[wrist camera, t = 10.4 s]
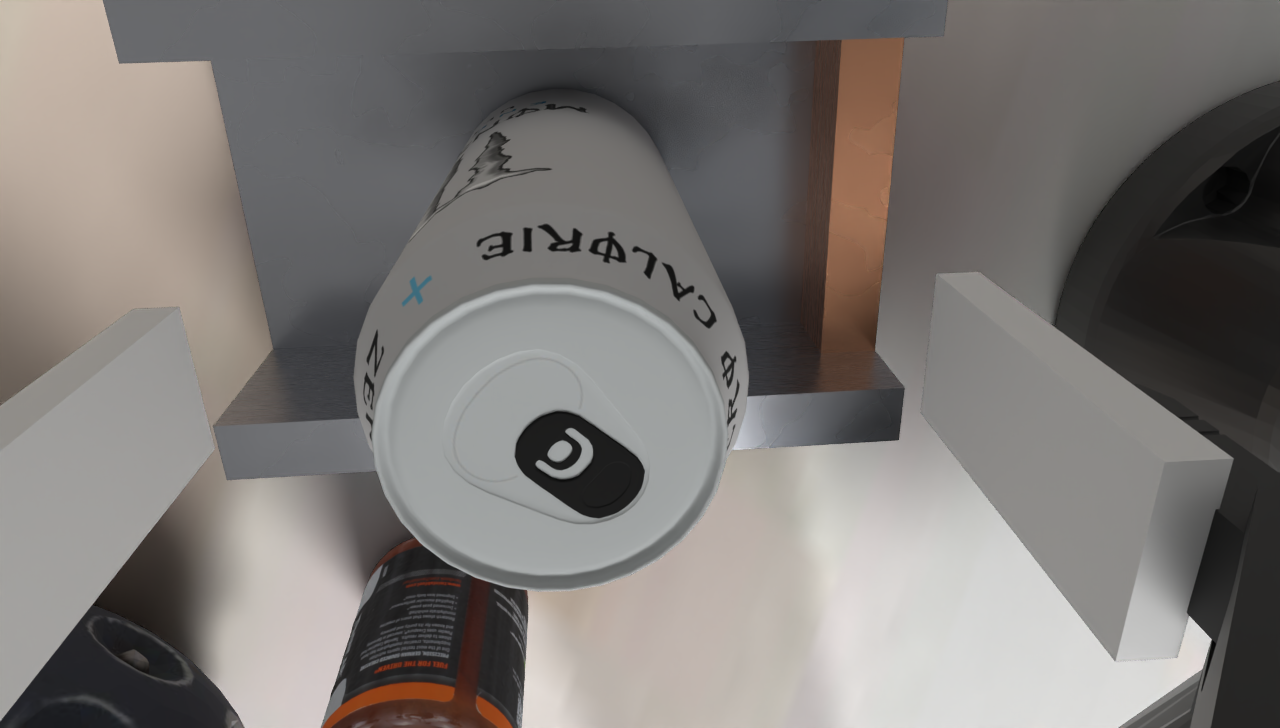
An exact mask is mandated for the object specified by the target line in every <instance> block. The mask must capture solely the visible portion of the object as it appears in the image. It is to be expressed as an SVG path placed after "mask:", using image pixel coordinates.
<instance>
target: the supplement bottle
mask: <svg viewBox="0 0 1280 728" xmlns="http://www.w3.org/2000/svg"><path fill="white" fill-rule="evenodd" d="M527 624H528V595H527V590H523V589H516V588H509V587H504V586H501V585H498V584H494V583H491V582H488V581H485V580H481V579H478V578H475V577H473V576H471V575H469V574H467V573H465V572H463V571H461V570H459V569H457V568H455V567H453V566H451V565H449V564H447V563H446V562H445V561H443V560H442V559H441V558H439V557H438V556H436V555H435V554H434V553H432V552H431V551H430V550H428V549H427V548H426V547H424V546H423V545H422V544H421V543H420V542H419V541H418V540H417V539H416V538H412V539H410V540H407V541H405V542H403V543H401V544H399V545H398V546H396V547H395V548H393V549H392V550H390V551H389V552H388V553H387V554H386V555H385V556H384V557H383V558H382V559H381V560H380V561H379V563H378V564H377V565H376V567H375V568H374V570H373V571H372V574H371V576H370V579H369V581H368V583H367V586H366V588H365V591H364V593H363V596H362V600H361V603H360V606H359V609H358V613H357V616H356V619H355V621H354V624H353V627H352V632H351V634H350V638H349V641H348V644H347V647H346V650H345V653H344V656H343V660H342V663H341V666H340V669H339V673H338V676H337V679H336V682H335V685H334V688H333V690H332V693H331V697H330V701H329V704H328V707H327V710H326V713H325V716H324V720H323V723H322V726H321V728H522V714H523V695H524V679H525V660H526V644H527Z"/></svg>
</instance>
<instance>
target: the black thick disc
mask: <svg viewBox="0 0 1280 728" xmlns="http://www.w3.org/2000/svg"><path fill="white" fill-rule="evenodd" d="M0 728H244V726H243V724H242V722H241V720H240V718H239V716H238V714H237V713H236V712H235V710H234V709H233V707H232V706H231V705H230V703H229V702H228V701H227V699H226V698H225V697H224V695H223V694H222V692H221V691H220V690H219V689H218V688H217V687H216V686H215V685H214V683H213V682H212V681H211V680H210V679H209V678H208V677H207V676H206V675H205V674H204V673H203V672H202V671H201V670H200V669H199V668H198V667H197V666H196V665H195V664H194V663H193V662H192V661H191V660H190V659H188V658H187V657H186V656H184V655H183V654H182V653H180V652H179V651H178V650H176V649H175V648H173V647H172V646H171V645H169V644H168V643H167V642H165V641H164V640H162V639H161V638H160V637H158V636H157V635H155V634H154V633H152V632H150V631H149V630H147V629H145V628H143V627H141V626H139V625H137V624H135V623H133V622H131V621H129V620H127V619H125V618H123V617H121V616H119V615H117V614H115V613H113V612H110V611H107V610H105V609H102V608H99V607H96V606H94V605H92V606H91V607H90V608H89V609H88V611H87V612H86V613H85V614H84V616H83V617H82V618H81V620H80V621H79V622H78V623H77V625H76V626H75V627H74V628H73V630H72V631H71V632H70V633H69V635H68V636H67V637H66V639H65V640H64V641H63V642H62V644H61V645H60V646H59V647H58V649H57V650H56V651H55V653H54V654H53V655H52V656H51V658H50V659H49V660H48V661H47V663H46V664H45V665H44V666H43V668H42V669H41V670H40V672H39V673H38V674H37V675H36V677H35V678H34V679H33V680H32V682H31V683H30V684H29V685H28V687H27V688H26V689H25V691H24V692H23V693H22V694H21V696H20V697H19V698H18V699H17V701H16V702H15V703H14V705H13V706H12V707H11V708H10V710H9V711H8V712H7V713H6V715H5V716H4V717H3V718H2V720H1V721H0Z"/></svg>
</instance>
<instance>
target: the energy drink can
mask: <svg viewBox="0 0 1280 728" xmlns="http://www.w3.org/2000/svg"><path fill="white" fill-rule="evenodd" d="M353 378H354V386H355V395H356V404H357V412H358V415H359V418H360V421H361V424H362V427H363V430H364V433H365V436H366V438H367V441H368V444H369V447H370V448H371V450H372V452H373V456H374V465H375V469H376V471H377V474H378V477H379V480H380V483H381V486H382V489H383V492H384V495H385V496H386V498H387V500H388V501H389V503H390V505H391V506H392V508H393V510H394V511H395V513H396V515H397V516H398V518H399V520H400V521H401V522H402V524H403V525H404V526H405V527H406V528H407V529H408V530H409V531H410V532H411V533H412V534H413V535H414V537H415V538H416V539H417V540H418V541H419V542H420V543H421V544H422V545H423V546H424V547H426V548H427V549H428V550H430V551H431V552H432V553H434V554H435V555H436V556H438V557H439V558H441V559H442V560H443V561H445V562H446V563H447V564H449V565H451V566H453V567H455V568H457V569H459V570H461V571H463V572H465V573H467V574H469V575H471V576H473V577H475V578H478V579H481V580H485V581H488V582H491V583H494V584H498V585H501V586H504V587H509V588H516V589H523V590H530V591H538V592H541V591H573V590H578V589H584V588H589V587H595V586H600V585H604V584H607V583H609V582H612V581H615V580H618V579H621V578H624V577H627V576H629V575H632V574H634V573H636V572H637V571H639V570H641V569H643V568H645V567H646V566H648V565H650V564H652V563H654V562H655V561H657V560H659V559H660V558H661V557H663V556H664V555H665V554H666V553H668V552H669V551H670V550H671V549H673V548H674V547H675V546H676V545H678V544H679V543H680V542H681V541H682V540H683V539H684V538H685V537H686V536H687V535H688V533H689V532H690V531H691V530H692V529H693V528H694V526H695V525H696V524H697V523H698V522H699V520H700V519H701V518H702V517H703V515H704V513H705V512H706V510H707V508H708V506H709V504H710V503H711V501H712V499H713V497H714V496H715V494H716V492H717V489H718V486H719V483H720V480H721V477H722V473H723V470H724V467H725V464H726V460H727V458H728V456H729V454H730V452H731V451H732V449H733V447H734V445H735V443H736V441H737V438H738V435H739V431H740V428H741V425H742V422H743V419H744V415H745V412H746V406H747V395H748V384H749V371H748V363H747V355H746V347H745V341H744V338H743V335H742V332H741V330H740V327H739V324H738V321H737V318H736V315H735V313H734V310H733V307H732V305H731V303H730V301H729V299H728V297H727V295H726V292H725V290H724V288H723V286H722V284H721V282H720V280H719V278H718V276H717V273H716V271H715V269H714V267H713V265H712V263H711V261H710V259H709V256H708V254H707V252H706V250H705V248H704V246H703V244H702V242H701V240H700V237H699V235H698V233H697V231H696V229H695V227H694V225H693V223H692V220H691V218H690V216H689V214H688V212H687V210H686V208H685V206H684V203H683V201H682V199H681V197H680V195H679V193H678V191H677V189H676V187H675V184H674V182H673V180H672V178H671V176H670V174H669V172H668V170H667V167H666V165H665V163H664V161H663V159H662V157H661V155H660V153H659V150H658V149H657V147H656V146H655V144H654V142H653V141H652V139H651V137H650V136H649V134H648V132H647V131H646V130H645V129H644V128H643V127H642V126H641V125H640V124H639V123H638V122H637V120H636V119H635V118H634V117H633V116H632V115H630V114H629V113H627V112H626V111H625V110H623V109H622V108H621V107H619V106H618V105H616V104H615V103H613V102H611V101H608V100H606V99H604V98H602V97H600V96H598V95H595V94H592V93H587V92H583V91H579V90H574V89H547V90H541V91H536V92H530V93H527V94H525V95H522V96H520V97H517V98H515V99H512V100H510V101H508V102H507V103H505V104H504V105H502V106H501V107H499V108H498V109H496V110H495V111H493V112H492V113H490V115H489V116H488V117H487V118H486V119H485V120H484V121H483V122H482V123H481V124H480V125H479V126H478V127H477V128H476V129H475V131H474V132H473V134H472V136H471V137H470V139H469V140H468V142H467V144H466V145H465V147H464V148H463V150H462V152H461V153H460V155H459V157H458V159H457V160H456V162H455V164H454V165H453V167H452V169H451V170H450V172H449V174H448V175H447V177H446V179H445V180H444V182H443V184H442V185H441V187H440V189H439V190H438V192H437V194H436V196H435V197H434V199H433V201H432V202H431V204H430V206H429V207H428V209H427V211H426V212H425V214H424V216H423V217H422V219H421V221H420V222H419V224H418V226H417V228H416V229H415V231H414V233H413V234H412V236H411V238H410V239H409V241H408V243H407V244H406V246H405V248H404V249H403V251H402V253H401V254H400V256H399V258H398V259H397V261H396V263H395V265H394V266H393V268H392V270H391V271H390V273H389V275H388V276H387V278H386V280H385V281H384V283H383V285H382V286H381V288H380V290H379V291H378V293H377V295H376V296H375V298H374V300H373V302H372V303H371V305H370V307H369V310H368V312H367V315H366V318H365V321H364V324H363V327H362V329H361V332H360V335H359V338H358V341H357V349H356V358H355V367H354V376H353Z"/></svg>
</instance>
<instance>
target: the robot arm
mask: <svg viewBox="0 0 1280 728" xmlns="http://www.w3.org/2000/svg"><path fill="white" fill-rule="evenodd" d="M920 413H921V414H922V415H923V417H924V418H925V419H926V420H927V422H928V423H929V424H930V426H931V427H932V428H933V429H934V431H935V432H936V433H937V434H938V436H939V437H940V438H941V440H942V441H943V442H944V443H945V445H946V446H947V447H948V449H949V450H950V451H951V452H952V454H953V455H954V456H955V457H956V459H957V460H958V461H959V463H960V464H961V465H962V466H963V468H964V469H965V470H966V472H967V473H968V474H969V475H970V477H971V478H972V479H973V480H974V482H975V483H976V484H977V486H978V487H979V488H980V489H981V491H982V492H983V493H984V495H985V496H986V497H987V498H988V500H989V501H990V502H991V504H992V505H993V506H994V507H995V509H996V510H997V511H998V512H999V514H1000V515H1001V516H1002V518H1003V519H1004V520H1005V521H1006V523H1007V524H1008V525H1009V527H1010V528H1011V529H1012V530H1013V532H1014V533H1015V534H1016V535H1017V537H1018V538H1019V539H1020V541H1021V542H1022V543H1023V544H1024V546H1025V547H1026V548H1027V550H1028V551H1029V552H1030V553H1031V555H1032V556H1033V557H1034V558H1035V560H1036V561H1037V562H1038V564H1039V565H1040V566H1041V567H1042V569H1043V570H1044V571H1045V573H1046V574H1047V575H1048V576H1049V578H1050V579H1051V580H1052V581H1053V583H1054V584H1055V585H1056V587H1057V588H1058V589H1059V590H1060V592H1061V593H1062V594H1063V596H1064V597H1065V598H1066V599H1067V601H1068V602H1069V603H1070V604H1071V606H1072V607H1073V608H1074V610H1075V611H1076V612H1077V613H1078V615H1079V616H1080V617H1081V619H1082V620H1083V621H1084V622H1085V624H1086V625H1087V626H1088V627H1089V629H1090V630H1091V631H1092V633H1093V634H1094V635H1095V636H1096V638H1097V639H1098V640H1099V642H1100V643H1101V644H1102V645H1103V647H1104V648H1105V649H1106V650H1107V652H1108V653H1109V654H1110V656H1111V657H1112V658H1113V659H1114V661H1115V662H1121V661H1137V660H1152V659H1168V658H1177V657H1178V654H1179V650H1180V647H1181V643H1182V639H1183V636H1184V632H1185V629H1186V625H1187V622H1188V618H1189V616H1190V617H1191V618H1192V619H1193V620H1194V621H1195V622H1196V623H1197V624H1198V625H1199V626H1200V627H1201V628H1202V629H1203V630H1204V631H1205V633H1206V634H1207V635H1208V636H1209V637H1210V638H1211V639H1212V640H1211V644H1210V647H1209V650H1208V654H1207V657H1206V660H1205V664H1204V667H1203V669H1202V670H1201V671H1199V672H1198V673H1196V674H1195V675H1193V676H1192V677H1191V678H1189V679H1188V680H1186V681H1185V682H1183V683H1182V684H1180V685H1179V686H1178V687H1176V688H1175V689H1173V690H1172V691H1170V692H1169V693H1168V694H1166V695H1165V696H1163V697H1162V698H1160V699H1159V700H1158V701H1156V702H1155V703H1153V704H1152V705H1150V706H1149V707H1147V708H1146V709H1145V710H1143V711H1142V712H1140V713H1139V714H1137V715H1136V716H1135V717H1133V718H1132V719H1130V720H1129V721H1127V722H1126V723H1125V724H1123V725H1122V726H1120V727H1119V728H1280V81H1279V82H1275V83H1272V84H1269V85H1266V86H1263V87H1261V88H1258V89H1255V90H1253V91H1250V92H1248V93H1245V94H1243V95H1241V96H1239V97H1237V98H1235V99H1232V100H1230V101H1228V102H1226V103H1225V104H1223V105H1221V106H1219V107H1217V108H1215V109H1213V110H1212V111H1210V112H1208V113H1207V114H1205V115H1204V116H1202V117H1200V118H1199V119H1197V120H1195V121H1194V122H1193V123H1191V124H1190V125H1188V126H1187V127H1185V128H1184V129H1183V130H1181V131H1180V132H1178V133H1177V134H1176V135H1175V136H1173V137H1172V138H1171V139H1170V140H1168V141H1167V142H1166V143H1164V144H1163V145H1162V146H1161V147H1160V148H1159V149H1158V150H1156V151H1155V152H1154V153H1153V154H1152V155H1151V156H1150V157H1149V158H1148V159H1147V160H1145V161H1144V162H1143V163H1142V164H1141V165H1140V166H1139V167H1138V168H1137V169H1136V170H1135V171H1134V173H1133V174H1132V175H1131V176H1130V177H1129V178H1128V179H1127V180H1126V181H1125V183H1124V184H1123V185H1122V186H1121V187H1120V188H1119V190H1118V191H1117V192H1116V193H1115V195H1114V196H1113V197H1112V198H1111V200H1110V201H1109V202H1108V204H1107V205H1106V207H1105V208H1104V209H1103V211H1102V212H1101V214H1100V215H1099V217H1098V218H1097V220H1096V221H1095V223H1094V224H1093V226H1092V228H1091V229H1090V231H1089V233H1088V234H1087V236H1086V238H1085V240H1084V242H1083V244H1082V246H1081V247H1080V249H1079V252H1078V254H1077V256H1076V258H1075V260H1074V263H1073V265H1072V267H1071V270H1070V272H1069V275H1068V278H1067V280H1066V283H1065V287H1064V290H1063V293H1062V297H1061V301H1060V305H1059V310H1058V314H1057V321H1056V328H1055V327H1054V326H1052V325H1051V324H1050V323H1048V322H1047V321H1045V320H1044V319H1043V318H1041V317H1040V316H1039V315H1037V314H1036V313H1035V312H1033V311H1032V310H1030V309H1029V308H1028V307H1026V306H1025V305H1024V304H1022V303H1021V302H1020V301H1018V300H1017V299H1015V298H1014V297H1013V296H1011V295H1010V294H1009V293H1007V292H1006V291H1005V290H1003V289H1002V288H1000V287H999V286H998V285H996V284H995V283H994V282H992V281H991V280H990V279H988V278H987V277H985V276H984V275H983V274H981V273H980V272H961V273H938V274H936V282H935V291H934V299H933V308H932V317H931V325H930V334H929V343H928V351H927V360H926V369H925V378H924V386H923V395H922V404H921V412H920ZM214 449H215V446H214V442H213V439H212V435H211V431H210V427H209V423H208V419H207V415H206V411H205V407H204V403H203V399H202V395H201V391H200V387H199V383H198V379H197V375H196V371H195V367H194V363H193V360H192V356H191V352H190V348H189V344H188V340H187V336H186V332H185V328H184V324H183V320H182V316H181V312H180V308H179V307H167V308H144V309H132V310H131V311H130V312H128V313H127V314H126V315H124V316H123V317H121V318H120V319H119V320H117V321H116V322H115V323H113V324H112V325H110V326H109V327H108V328H106V329H105V330H104V331H102V332H101V333H99V334H98V335H97V336H95V337H94V338H93V339H91V340H90V341H88V342H87V343H86V344H84V345H83V346H82V347H80V348H79V349H77V350H76V351H75V352H73V353H72V354H71V355H69V356H68V357H66V358H65V359H64V360H62V361H61V362H60V363H58V364H57V365H55V366H54V367H53V368H51V369H50V370H49V371H47V372H46V373H44V374H43V375H42V376H40V377H39V378H38V379H36V380H35V381H33V382H32V383H31V384H29V385H28V386H27V387H25V388H24V389H22V390H21V391H20V392H18V393H17V394H16V395H14V396H13V397H11V398H10V399H9V400H7V401H6V402H5V403H3V404H2V405H0V721H1V720H2V718H3V717H4V716H5V715H6V713H7V712H8V711H9V710H10V708H11V707H12V706H13V705H14V703H15V702H16V701H17V699H18V698H19V697H20V696H21V694H22V693H23V692H24V691H25V689H26V688H27V687H28V685H29V684H30V683H31V682H32V680H33V679H34V678H35V677H36V675H37V674H38V673H39V672H40V670H41V669H42V668H43V666H44V665H45V664H46V663H47V661H48V660H49V659H50V658H51V656H52V655H53V654H54V653H55V651H56V650H57V649H58V647H59V646H60V645H61V644H62V642H63V641H64V640H65V639H66V637H67V636H68V635H69V633H70V632H71V631H72V630H73V628H74V627H75V626H76V625H77V623H78V622H79V621H80V620H81V618H82V617H83V616H84V614H85V613H86V612H87V611H88V609H89V608H90V607H91V606H92V604H93V603H94V602H95V600H96V599H97V598H98V597H99V595H100V594H101V593H102V592H103V590H104V589H105V588H106V587H107V585H108V584H109V583H110V581H111V580H112V579H113V578H114V576H115V575H116V574H117V573H118V571H119V570H120V569H121V567H122V566H123V565H124V564H125V562H126V561H127V560H128V559H129V557H130V556H131V555H132V554H133V552H134V551H135V550H136V548H137V547H138V546H139V545H140V543H141V542H142V541H143V540H144V538H145V537H146V536H147V535H148V533H149V532H150V531H151V529H152V528H153V527H154V526H155V524H156V523H157V522H158V521H159V519H160V518H161V517H162V515H163V514H164V513H165V512H166V510H167V509H168V508H169V507H170V505H171V504H172V503H173V502H174V500H175V499H176V498H177V496H178V495H179V494H180V493H181V491H182V490H183V489H184V488H185V486H186V485H187V484H188V482H189V481H190V480H191V479H192V477H193V476H194V475H195V474H196V472H197V471H198V470H199V469H200V467H201V466H202V465H203V463H204V462H205V461H206V460H207V458H208V457H209V456H210V455H211V453H212V452H213V451H214Z"/></svg>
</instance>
